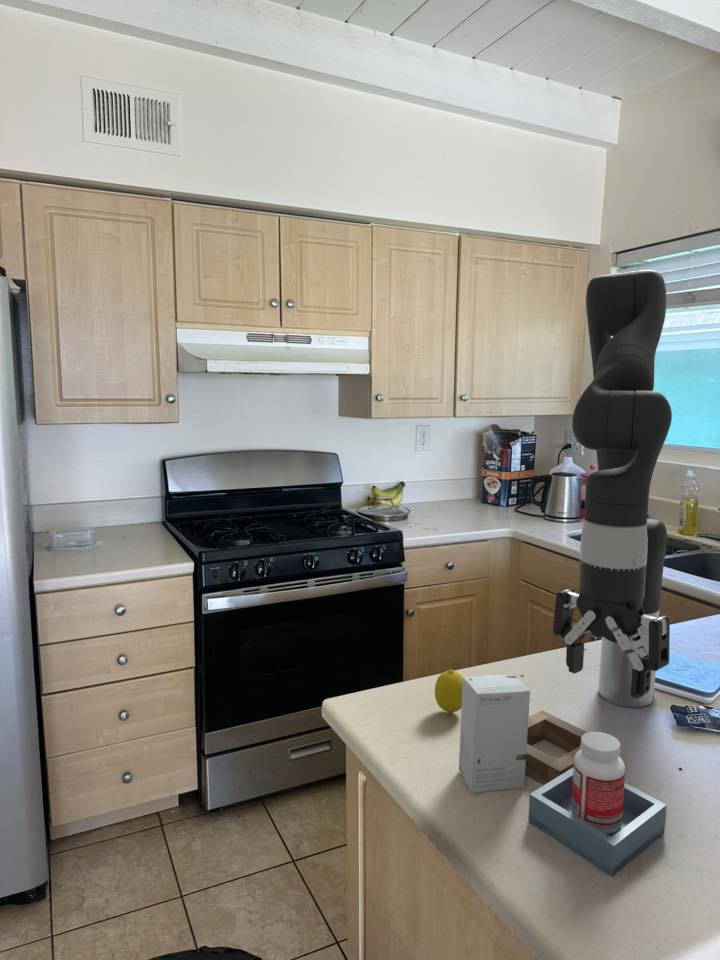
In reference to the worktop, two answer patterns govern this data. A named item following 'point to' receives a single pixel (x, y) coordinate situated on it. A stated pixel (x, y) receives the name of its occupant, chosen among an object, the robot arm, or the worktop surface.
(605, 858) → the tray
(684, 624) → the worktop surface
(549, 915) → the worktop surface
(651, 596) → the robot arm
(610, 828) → the pill bottle
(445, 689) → the lemon
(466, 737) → the skincare box
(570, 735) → the collar block
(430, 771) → the worktop surface
